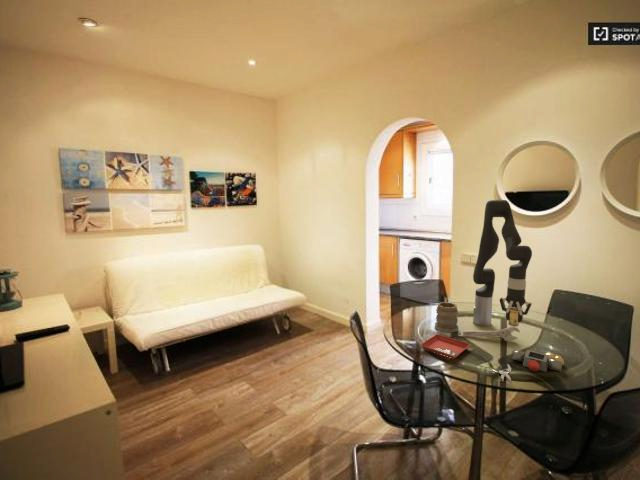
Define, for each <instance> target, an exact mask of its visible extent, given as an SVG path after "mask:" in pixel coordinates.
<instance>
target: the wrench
mask: <svg viewBox="0 0 640 480" xmlns="http://www.w3.org/2000/svg"><path fill="white" fill-rule="evenodd" d="M514 332H517V333H521V331H520V329H519V327H518V326H517V327H514V326H510V325H509V326H507V327H506V328H505V327H504V328H503V329H499V330H472V329H471V330H469V329H468V330H466V329H465V330H458V331H457V335H458V337H463V338H464V337H465V338H466V337H468V338H469V337H470V338H471V337H472V338H473V337H481V338H482V337H484V338H485V337H486V338H487V337H494V338H495V337H496V338H501V339H504V341H505V342H509V341H515V340H518V339H519V337H517V336H516V335H512V333H514ZM460 333H462V334H460Z"/></svg>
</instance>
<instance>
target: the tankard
mask: <svg viewBox="0 0 640 480" xmlns="http://www.w3.org/2000/svg"><path fill="white" fill-rule="evenodd" d="M443 301H444V302H443ZM443 301H441V302H439V303H437V306H436V310H435V311H436V317H435V319H436V322H434V329H436V330H437V331H440V332H442V333H452V334H453V333H455V332H459V325H458V321H459V320H458V315H459V311H458V306H457V304H455V303H453V302H448V296H444V300H443Z"/></svg>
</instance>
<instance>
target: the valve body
mask: <svg viewBox="0 0 640 480" xmlns="http://www.w3.org/2000/svg"><path fill="white" fill-rule="evenodd" d="M511 359H512V360H514V361H518V362H522V367H526V368H528V369H529V370H530V371H533V372H537V371H541V372H544V373H545V372H546V373H547V371H548V369H549V370H553V371H557V372H560V373H561V372H562V367H563V366H562V361H558V360H554V359H550V358H548V355H547V354H544V353H543V352H538V351H534V350H530V349H526V352H524V351H520V350H517V349H512V353H511Z"/></svg>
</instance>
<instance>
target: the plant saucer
mask: <svg viewBox="0 0 640 480" xmlns="http://www.w3.org/2000/svg"><path fill="white" fill-rule="evenodd" d="M470 345H471V344H470V343H468V342H465V341H461V340H458V339H455V338H451V337H449V336H445V335H441V334H437V333H436V334H435V335H433V336H431V337H430V338H428V339H427V340H424V341H423V342H422V343H421V344H420V346H421V347H422V349H424V351H426V350H427V351H426V352H429V351H431V352H430V353H432V352H435V353H438V354H442V355H445V356H448V357H451V358H455V359H456V358H457V357H458V356H459V355H461V354H462V353H463V352H464V351H465V350H467V349H468V348H469V347H470ZM434 348H435V349H436V348H440V349H442V350H446V349H447V350H451V351H453V352H454V353H456V354H457V355H456V356H453V355H450V354H447V353H444V352H441V351H438V350H435V349H434ZM435 353H434V354H435ZM438 354H437V355H438Z"/></svg>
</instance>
